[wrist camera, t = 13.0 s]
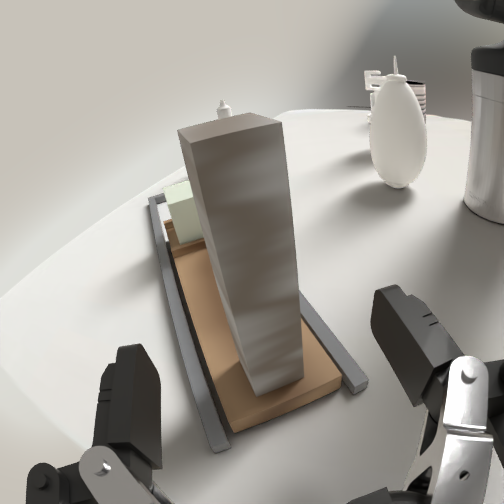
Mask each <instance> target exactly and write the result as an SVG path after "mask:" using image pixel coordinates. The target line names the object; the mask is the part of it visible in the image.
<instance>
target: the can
mask: <svg viewBox="0 0 504 504" xmlns="http://www.w3.org/2000/svg"><path fill="white" fill-rule="evenodd" d="M405 82H406V83H407V84H408V85H409V86H410V87H411V89H412V90H413V92H414V94H415V96H416V98H417V100H418V102H419V105H420V107H421V110H422V113H423V117H424V121H425V124H426V97H425V84H423V83H418V82H411V81H405Z"/></svg>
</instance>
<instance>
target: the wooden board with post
mask: <svg viewBox="0 0 504 504" xmlns="http://www.w3.org/2000/svg"><path fill="white" fill-rule="evenodd" d="M177 131H178V136H179V140H180V144H181V148H182V153H183V157H184V161H185V165H186V169H187V174H188V178H189V182H190V186H191V190H192V194H193V198H194V201H195V205H196V209H197V213H198V217H199V221H200V225H201V228H202V232H203V236H204V238H200V239H197V240H194V241H191V242H188V243H185V244H182V245H180V243H179V240H178V237H177V234H176V231H175V228H174V224H173V221H172V219H170V220H167V221H163V222H164V225H165V228H166V232H167V236H168V239H169V243H170V247H171V252H172V255H173V258H174V261H175V265H176V268H177V272H178V275H179V278H180V282H181V285H182V288H183V292H184V295H185V298H186V302H187V305H188V308H189V311H190V314H191V318H192V321H193V324H194V327H195V330H196V333H197V336H198V339H199V342H200V345H201V348H202V351H203V354H204V357H205V360H206V363H207V365H208V368H209V371H210V374H211V377H212V379H213V382H214V385H215V388H216V390H217V393H218V396H219V399H220V401H221V404H222V406H223V409H224V412H225V414H226V417H227V419H228V422H229V424H230V426H231V428H232V430H233V432H234V433H236V432H239V431H242V430H244V429H247V428H250V427H252V426H255V425H258V424H260V423H263V422H265V421H268V420H270V419H273V418H275V417H278V416H280V415H283V414H285V413H287V412H290V411H292V410H294V409H297V408H299V407H301V406H303V405H306V404H308V403H310V402H312V401H314V400H316V399H319V398H321V397H323V396H325V395H327V394H329V393H331V392H333V391H335V390H337V389H339V388H341V380H342V374H341V373H340V371H339V370H338V369H337V367H336V366H335V364H334V363H333V362H332V360H331V359H330V357H329V356H328V355H327V353H326V352H325V351H324V349H323V348H322V346H321V345H320V344H319V342H318V341H317V339H316V338H315V337H314V335H313V334H312V332H311V331H310V330H309V328H308V327H307V326H306V324H305V323H304V321H303V320H302V319H301V313H300V299H299V286H298V273H297V261H296V249H295V238H294V228H293V217H292V207H291V198H290V188H289V179H288V170H287V162H286V153H285V145H284V137H283V129H282V122H280V121H277V120H274V119H270V118H267V117H263V116H260V115H256V114H253V113H246V114H241V115H236V116H231V117H227V118H222V119H218V120H214V121H210V122H206V123H202V124H198V125H194V126H190V127H186V128H182V129H179V130H177Z"/></svg>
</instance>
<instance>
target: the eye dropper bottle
mask: <svg viewBox="0 0 504 504" xmlns="http://www.w3.org/2000/svg"><path fill="white" fill-rule="evenodd" d="M217 113H218V119H222V118H227V117H231V116H232V111H231V107H230V106H227V105H226V103H225V100H221V101H220V107H219V108H218V109H217Z"/></svg>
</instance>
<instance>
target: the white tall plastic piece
mask: <svg viewBox="0 0 504 504" xmlns="http://www.w3.org/2000/svg"><path fill="white" fill-rule="evenodd" d="M364 74H365V85H366V90H374V93H371V94H370V97H371V114H368V115H367V119H368V122H369V123H371V117H372V112H373V109H374V105H375V102H376V99H377V97H378V95H379V92H380V90H381V89H382V87H383V86H384V84H385V83H386V82H387V81H388V80H387V79H386V77H387V76H371V74H381V73H380V71H364ZM371 84H376V85H380V87H372V85H371Z"/></svg>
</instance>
